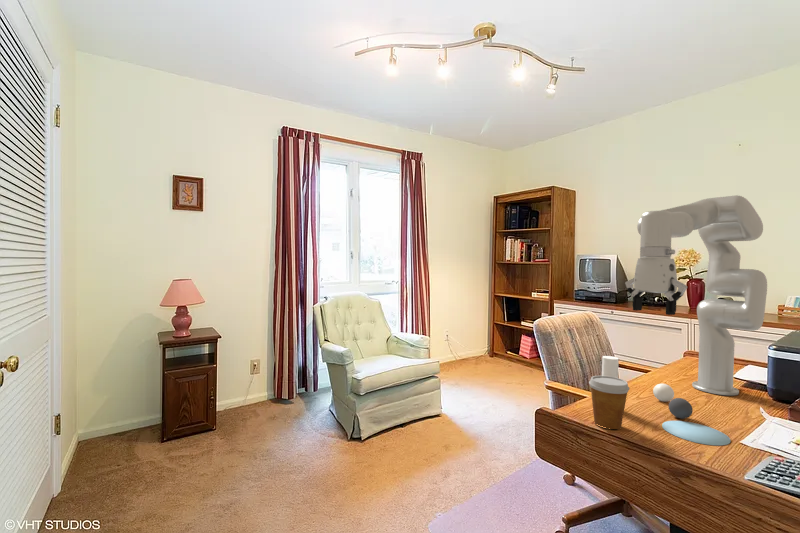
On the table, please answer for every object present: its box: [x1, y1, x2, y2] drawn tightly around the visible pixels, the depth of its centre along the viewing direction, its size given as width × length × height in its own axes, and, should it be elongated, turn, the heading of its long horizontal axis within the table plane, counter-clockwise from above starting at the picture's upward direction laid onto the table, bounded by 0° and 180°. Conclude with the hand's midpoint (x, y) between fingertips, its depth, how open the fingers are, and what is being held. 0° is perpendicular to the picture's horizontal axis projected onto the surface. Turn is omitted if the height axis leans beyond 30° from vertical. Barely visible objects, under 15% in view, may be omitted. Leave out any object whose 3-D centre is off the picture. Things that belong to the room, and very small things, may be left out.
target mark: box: [661, 420, 731, 447], centre depth 100 cm, size 14×14×1 cm
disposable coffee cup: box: [588, 375, 631, 430], centre depth 104 cm, size 10×10×12 cm
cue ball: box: [652, 382, 675, 403], centre depth 123 cm, size 6×6×6 cm
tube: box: [601, 355, 620, 378], centre depth 116 cm, size 4×4×15 cm
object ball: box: [668, 397, 694, 420], centre depth 110 cm, size 6×6×6 cm
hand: (653, 312), depth 114 cm, fingers open, 9 cm apart
